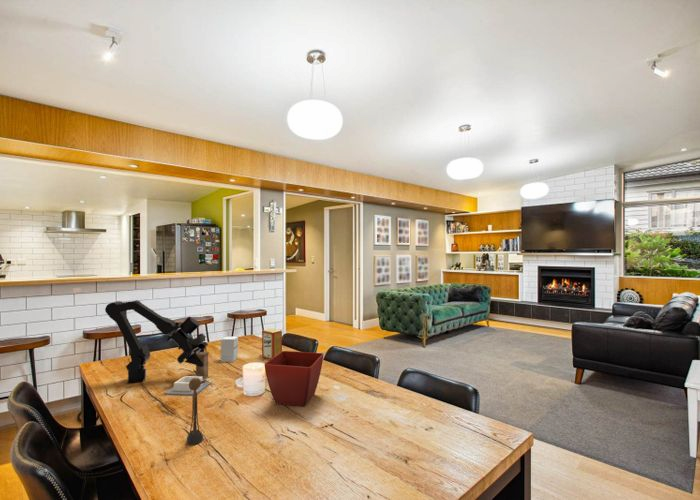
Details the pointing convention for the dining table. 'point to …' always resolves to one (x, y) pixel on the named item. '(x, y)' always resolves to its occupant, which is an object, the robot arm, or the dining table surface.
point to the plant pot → (293, 376)
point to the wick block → (204, 369)
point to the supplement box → (229, 349)
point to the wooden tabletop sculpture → (195, 434)
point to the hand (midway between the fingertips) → (205, 364)
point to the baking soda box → (271, 343)
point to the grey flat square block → (185, 386)
